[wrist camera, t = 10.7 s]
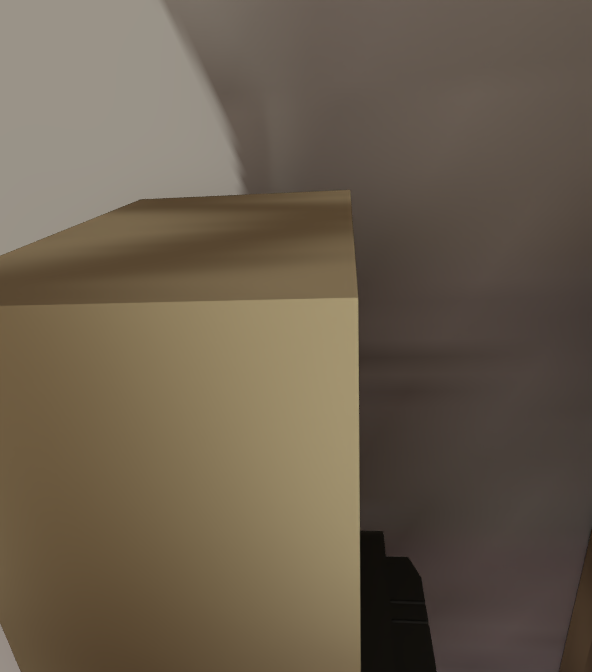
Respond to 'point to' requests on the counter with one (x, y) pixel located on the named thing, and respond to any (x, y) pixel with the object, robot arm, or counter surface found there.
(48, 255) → the tan block
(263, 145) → the counter surface
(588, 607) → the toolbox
